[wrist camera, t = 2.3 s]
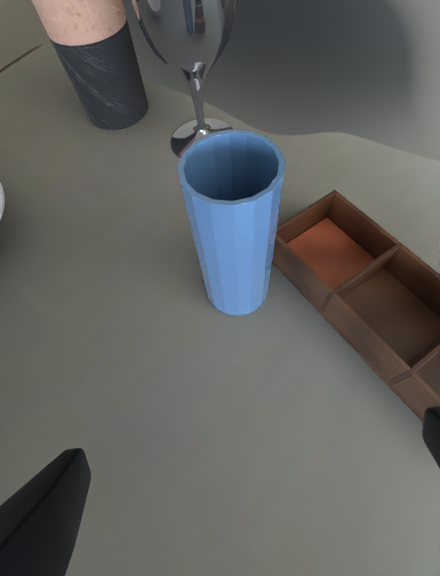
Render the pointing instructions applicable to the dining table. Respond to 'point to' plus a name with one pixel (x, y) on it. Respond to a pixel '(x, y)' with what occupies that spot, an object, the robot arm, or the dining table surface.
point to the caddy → (368, 293)
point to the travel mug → (97, 57)
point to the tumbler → (233, 214)
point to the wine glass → (188, 50)
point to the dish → (2, 200)
